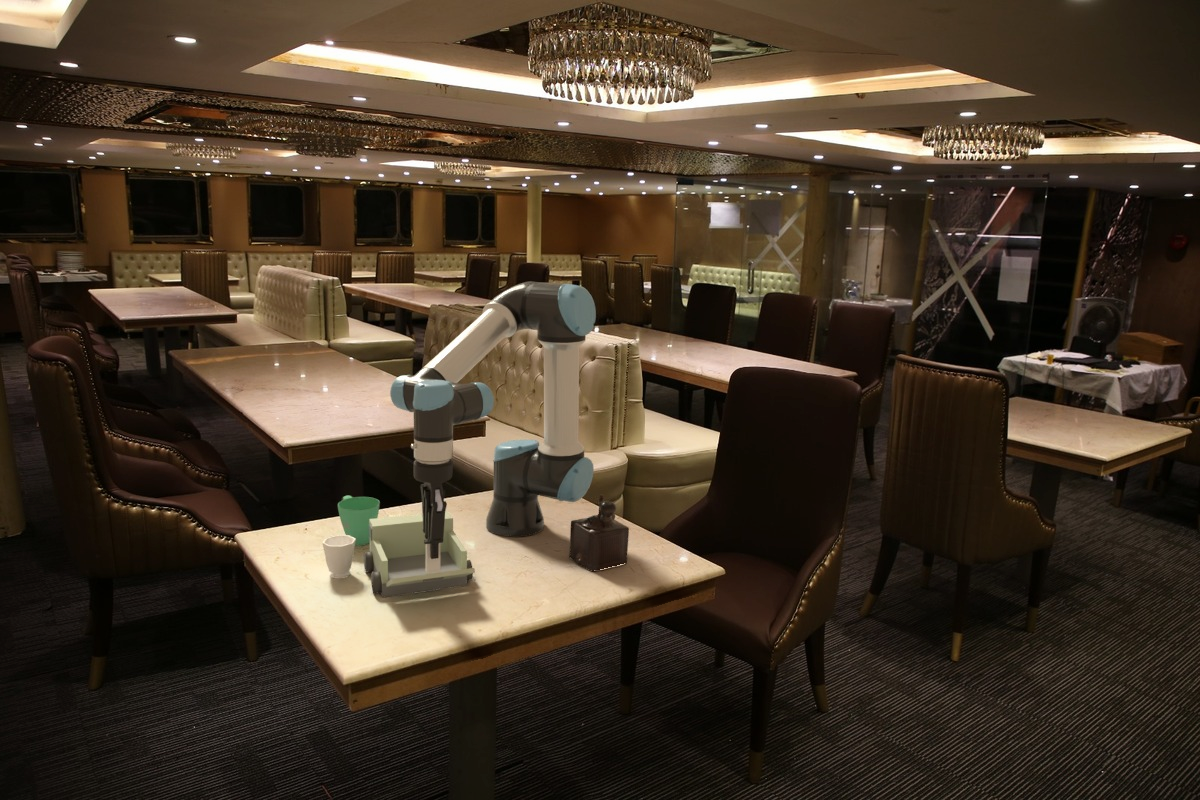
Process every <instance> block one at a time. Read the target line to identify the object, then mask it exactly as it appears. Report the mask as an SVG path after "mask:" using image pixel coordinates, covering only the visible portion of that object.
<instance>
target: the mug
mask: <svg viewBox="0 0 1200 800" xmlns="http://www.w3.org/2000/svg"><path fill="white" fill-rule="evenodd" d="M380 506H381V502H380V500H379V499H377V498H374V497H369V496H355V497H354V496H352V495H345V496H342V498H341V501H339V502H338V503H337V510H338V515H339V519H340V523H341V525H342V528H343V531H344V535H349V536H351V537H354V538H356V541H355V546H357V547H358V546H365V545H368V544H370V536H369V519H375V518H379V512H380V511H379V510H380Z"/></svg>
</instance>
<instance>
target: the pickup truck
mask: <svg viewBox="0 0 1200 800" xmlns="http://www.w3.org/2000/svg"><path fill="white" fill-rule="evenodd" d="M369 536H370V542H369V551H365V552H364V553H363V567H364V571H365V573H369V572H371V576H370V580H371V581H370V582H371V591H372V593H373V594H380V595H381V597H382V598H388V597H395V596H403V595H412V594H417V593H418V594H419V593H425V592H431V591H438V590H446V589H452V588H453V589H454V588H460V587H467V586H468V581H472V580H473V577H474V576H473V575H474V573H472V574H469V575H467V576H464V577H457V578H449V579H442V580H435V581H427V582H420V583H413V584H405V585H398V586H391V587H386V582H388V581H390V580H391V579H394V578H401V577H409V576H417V575H424V574H432V573H426V571H425V558H426V544H424V540H427V539H425V533H424V532H423V514H422V513H416V514H414V513H413V514H407V515H406V514H405V515H398V516H397V515H395V516H394V515H393V516H386V517H377V518H375V519H369ZM469 568H473V563H472V561H471V559H468V550H467V548H466V547H465V546H464V544H463V542H462V541H461V540H460V538H459V536H457V534H456V532H454V517H453V516H452V514H451V513H450V512H449V511H448V510H446V511H445V522H444V536H443V543H440V572H447V571H454V570H462V569H469ZM434 573H439V572H434Z"/></svg>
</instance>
